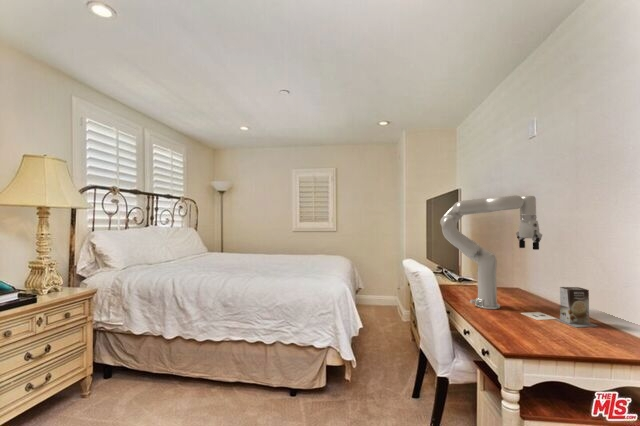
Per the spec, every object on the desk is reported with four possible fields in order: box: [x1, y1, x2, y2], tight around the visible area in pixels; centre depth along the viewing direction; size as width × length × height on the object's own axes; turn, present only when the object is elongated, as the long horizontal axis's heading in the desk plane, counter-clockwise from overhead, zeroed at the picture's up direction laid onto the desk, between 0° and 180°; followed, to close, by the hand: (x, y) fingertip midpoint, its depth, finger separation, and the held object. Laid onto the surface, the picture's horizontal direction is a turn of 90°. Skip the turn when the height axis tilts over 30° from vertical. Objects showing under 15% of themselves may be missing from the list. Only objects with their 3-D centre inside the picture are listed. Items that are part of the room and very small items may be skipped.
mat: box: [555, 318, 599, 329], centre depth 147 cm, size 11×11×1 cm
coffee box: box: [559, 286, 590, 324], centre depth 148 cm, size 9×6×16 cm
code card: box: [520, 311, 558, 321], centre depth 158 cm, size 11×11×1 cm
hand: (528, 248), depth 171 cm, fingers open, 9 cm apart
